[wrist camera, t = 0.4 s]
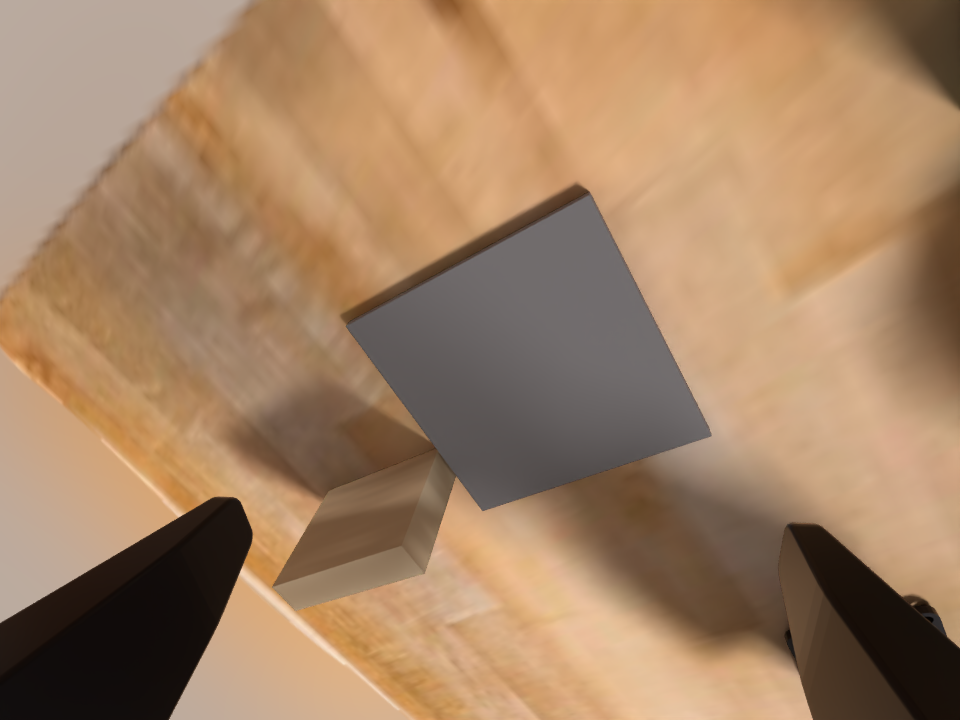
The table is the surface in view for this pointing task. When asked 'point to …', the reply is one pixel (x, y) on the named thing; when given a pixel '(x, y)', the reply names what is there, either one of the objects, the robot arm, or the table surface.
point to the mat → (534, 361)
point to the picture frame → (369, 533)
